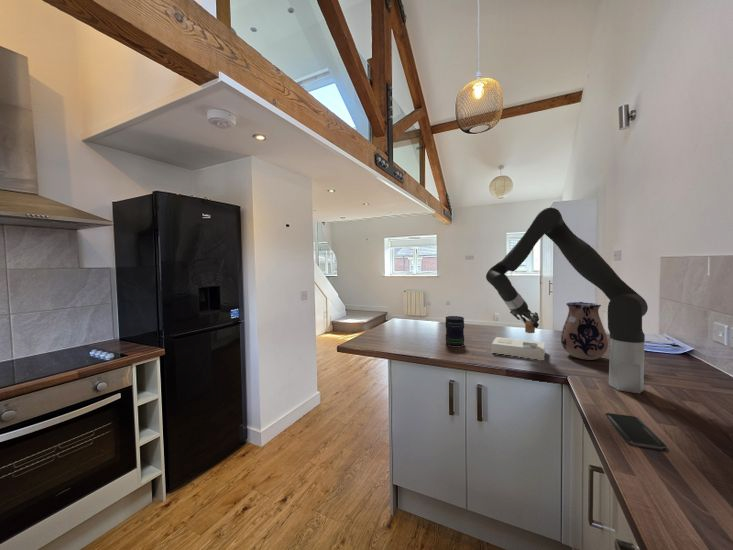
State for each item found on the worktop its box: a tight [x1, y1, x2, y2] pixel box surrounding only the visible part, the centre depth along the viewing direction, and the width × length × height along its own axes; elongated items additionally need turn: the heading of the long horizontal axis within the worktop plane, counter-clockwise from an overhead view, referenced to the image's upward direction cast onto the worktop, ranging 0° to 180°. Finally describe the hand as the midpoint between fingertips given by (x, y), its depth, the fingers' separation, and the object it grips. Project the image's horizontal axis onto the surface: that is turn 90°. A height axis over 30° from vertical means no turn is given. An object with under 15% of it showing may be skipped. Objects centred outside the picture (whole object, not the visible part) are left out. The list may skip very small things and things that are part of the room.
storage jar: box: [445, 315, 465, 347], centre depth 161 cm, size 10×10×15 cm
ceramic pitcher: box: [560, 301, 609, 361], centre depth 138 cm, size 18×21×25 cm
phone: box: [605, 412, 668, 451], centre depth 78 cm, size 8×1×15 cm
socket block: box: [491, 336, 546, 361], centre depth 145 cm, size 14×22×5 cm, turn 58°
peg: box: [524, 319, 536, 334], centre depth 142 cm, size 4×4×8 cm
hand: (532, 325), depth 142 cm, fingers closed on peg, 4 cm apart
